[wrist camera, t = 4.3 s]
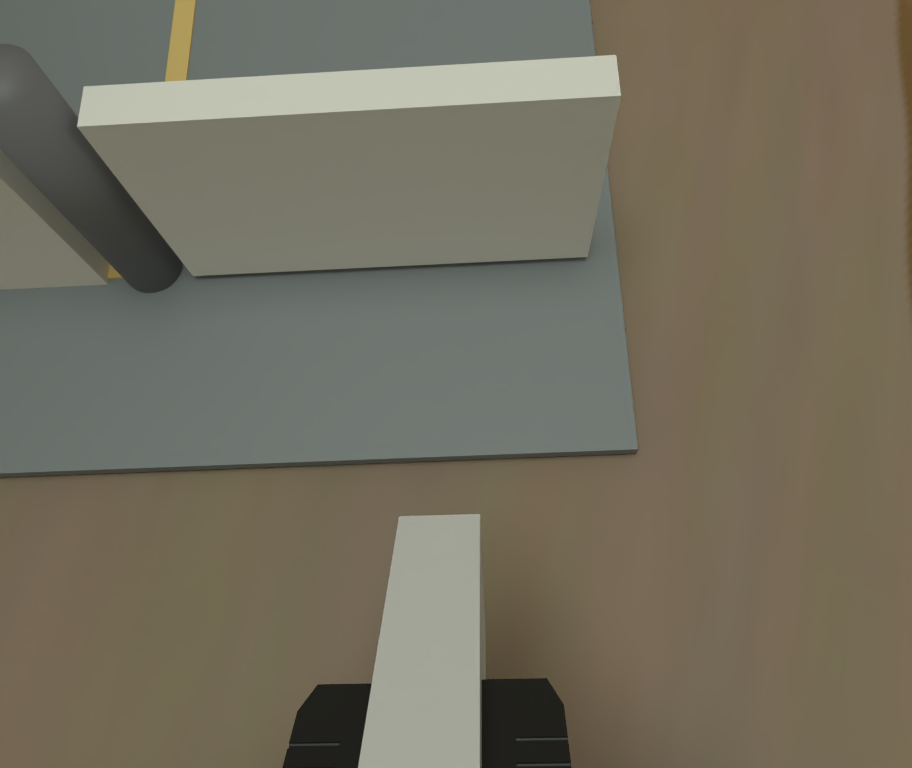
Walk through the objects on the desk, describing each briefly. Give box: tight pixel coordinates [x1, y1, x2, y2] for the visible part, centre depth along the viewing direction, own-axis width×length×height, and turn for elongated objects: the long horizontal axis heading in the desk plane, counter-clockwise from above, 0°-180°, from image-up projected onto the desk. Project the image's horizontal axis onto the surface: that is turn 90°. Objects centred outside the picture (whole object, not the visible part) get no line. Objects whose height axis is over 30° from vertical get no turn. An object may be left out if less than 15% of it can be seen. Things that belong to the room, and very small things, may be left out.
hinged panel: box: [77, 55, 621, 276], centre depth 22 cm, size 13×1×8 cm, turn 92°
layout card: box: [0, 0, 638, 478], centre depth 28 cm, size 27×22×1 cm
